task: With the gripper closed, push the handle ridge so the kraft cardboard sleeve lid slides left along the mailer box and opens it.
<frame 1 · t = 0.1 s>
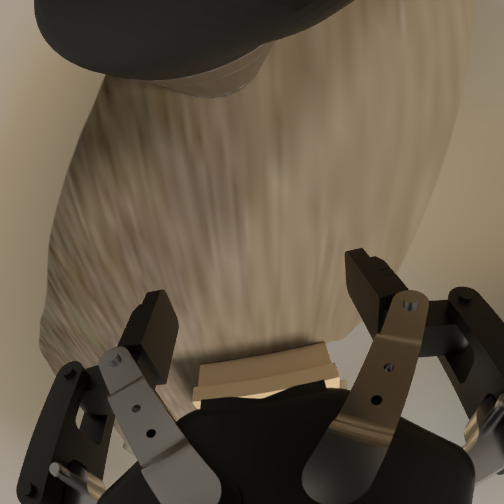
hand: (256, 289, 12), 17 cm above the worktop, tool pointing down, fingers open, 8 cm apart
lid: (272, 415, 35), point 7 cm above the worktop, slide at 0.0 cm
mailer box: (267, 375, 41), on the worktop
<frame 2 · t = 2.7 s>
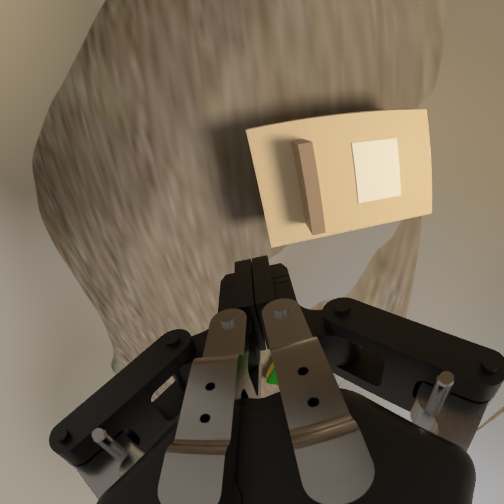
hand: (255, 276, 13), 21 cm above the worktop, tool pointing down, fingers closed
lid: (356, 174, 25), point 7 cm above the worktop, slide at 0.0 cm
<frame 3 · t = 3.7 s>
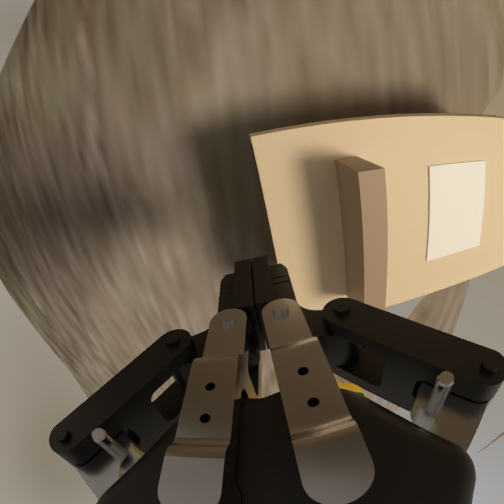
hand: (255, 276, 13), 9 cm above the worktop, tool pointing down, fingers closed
lid: (431, 218, 14), point 7 cm above the worktop, slide at 0.0 cm
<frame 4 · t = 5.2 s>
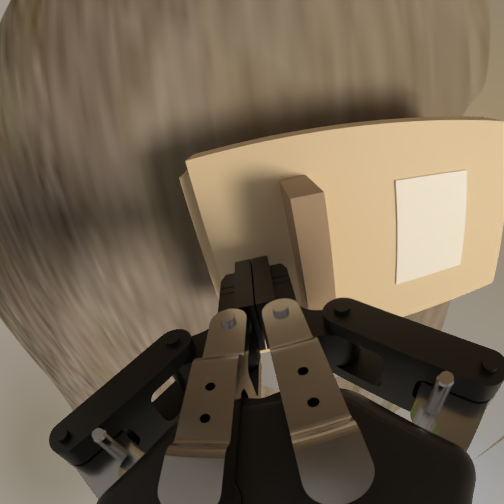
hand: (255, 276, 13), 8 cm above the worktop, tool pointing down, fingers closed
lid: (399, 238, 13), point 7 cm above the worktop, slide at 1.1 cm, touching gripper
mailer box: (337, 200, 20), on the worktop
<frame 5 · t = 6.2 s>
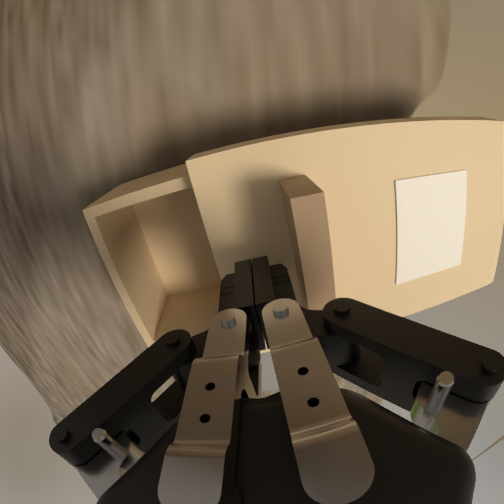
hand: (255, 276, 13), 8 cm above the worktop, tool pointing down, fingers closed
lid: (399, 238, 13), point 7 cm above the worktop, slide at 6.9 cm, touching gripper
mailer box: (259, 217, 21), on the worktop
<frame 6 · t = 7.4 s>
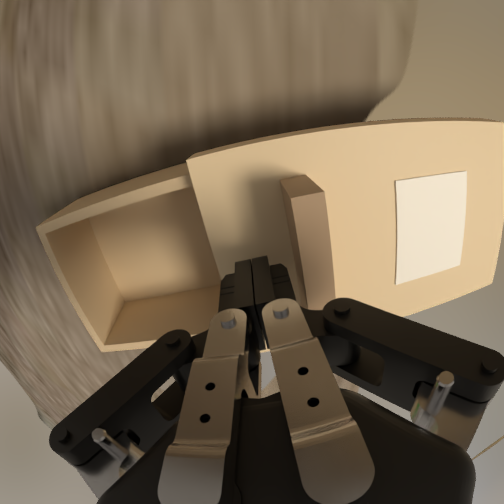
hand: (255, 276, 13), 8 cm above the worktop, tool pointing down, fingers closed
lid: (399, 238, 14), point 7 cm above the worktop, slide at 10.9 cm, touching gripper
mailer box: (204, 229, 21), on the worktop
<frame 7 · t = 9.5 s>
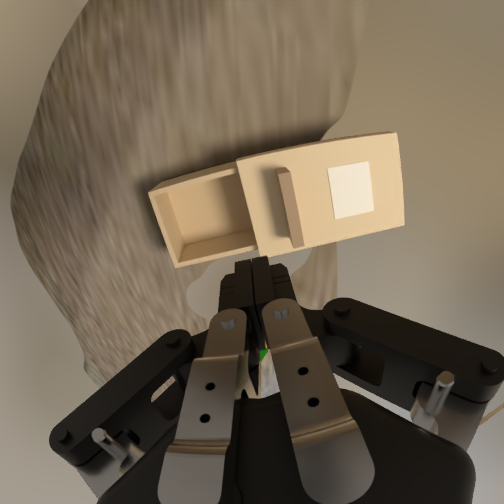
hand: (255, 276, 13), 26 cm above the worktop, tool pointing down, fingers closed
lid: (331, 194, 31), point 7 cm above the worktop, slide at 11.0 cm
mailer box: (235, 199, 38), on the worktop
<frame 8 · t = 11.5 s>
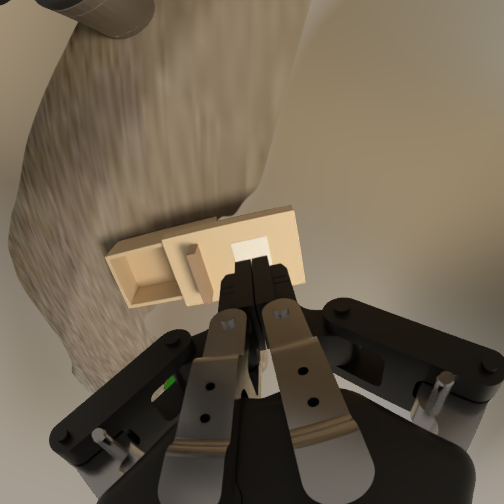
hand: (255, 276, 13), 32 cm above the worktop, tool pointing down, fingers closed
lid: (235, 263, 41), point 7 cm above the worktop, slide at 11.0 cm
mailer box: (173, 255, 48), on the worktop
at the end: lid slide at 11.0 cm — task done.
